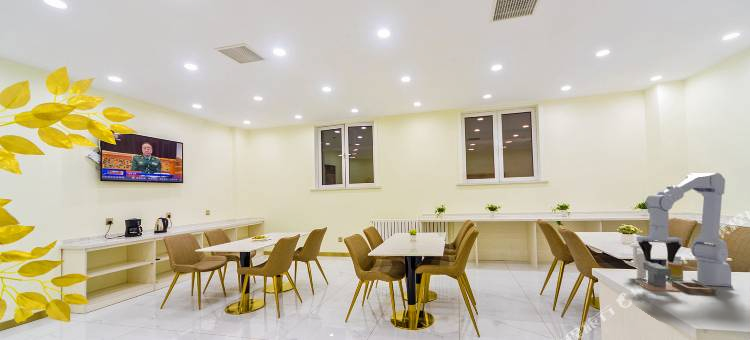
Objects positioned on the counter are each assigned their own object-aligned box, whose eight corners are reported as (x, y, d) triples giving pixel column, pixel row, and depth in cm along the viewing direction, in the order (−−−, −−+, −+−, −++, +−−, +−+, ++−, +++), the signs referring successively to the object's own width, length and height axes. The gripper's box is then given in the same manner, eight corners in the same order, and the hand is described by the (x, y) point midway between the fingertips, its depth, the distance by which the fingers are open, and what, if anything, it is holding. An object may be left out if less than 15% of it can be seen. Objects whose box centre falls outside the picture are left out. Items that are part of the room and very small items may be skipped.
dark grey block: (670, 289, 132) (670, 269, 132) (657, 288, 132) (657, 268, 133) (656, 282, 140) (656, 263, 141) (643, 281, 141) (643, 262, 141)
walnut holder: (698, 287, 136) (698, 282, 136) (716, 295, 127) (716, 289, 127) (671, 286, 138) (671, 280, 138) (687, 293, 129) (687, 287, 129)
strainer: (643, 281, 144) (642, 244, 144) (626, 276, 151) (626, 241, 151) (656, 280, 145) (656, 243, 146) (640, 275, 152) (639, 240, 153)
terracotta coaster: (663, 283, 140) (663, 282, 140) (680, 291, 131) (680, 290, 131) (635, 282, 142) (635, 280, 142) (649, 290, 132) (649, 288, 132)
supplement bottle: (686, 281, 144) (686, 257, 145) (671, 280, 146) (670, 256, 146) (677, 277, 150) (677, 254, 150) (663, 276, 151) (663, 253, 151)
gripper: (673, 225, 139) (674, 260, 139) (632, 223, 141) (632, 258, 141) (685, 227, 132) (686, 264, 132) (642, 226, 135) (642, 262, 134)
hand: (659, 261), depth 136 cm, fingers open, 7 cm apart
